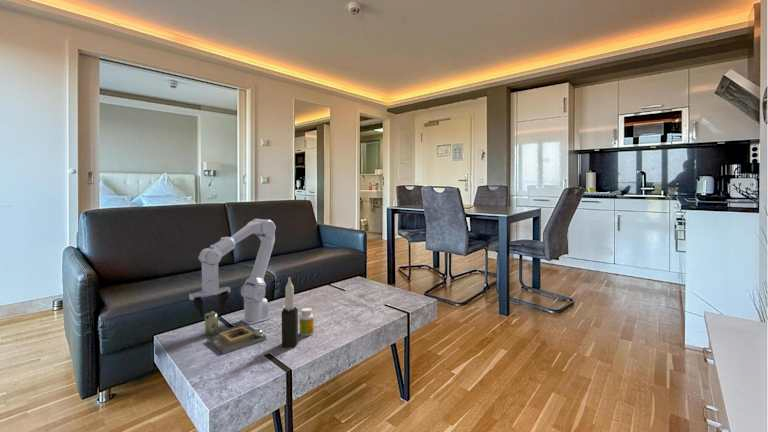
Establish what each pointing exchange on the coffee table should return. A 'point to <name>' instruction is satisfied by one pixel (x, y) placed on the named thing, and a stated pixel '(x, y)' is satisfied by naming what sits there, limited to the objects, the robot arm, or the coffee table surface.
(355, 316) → the coffee table surface
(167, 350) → the coffee table surface
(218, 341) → the square peg board
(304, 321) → the supplement bottle
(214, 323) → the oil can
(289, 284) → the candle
